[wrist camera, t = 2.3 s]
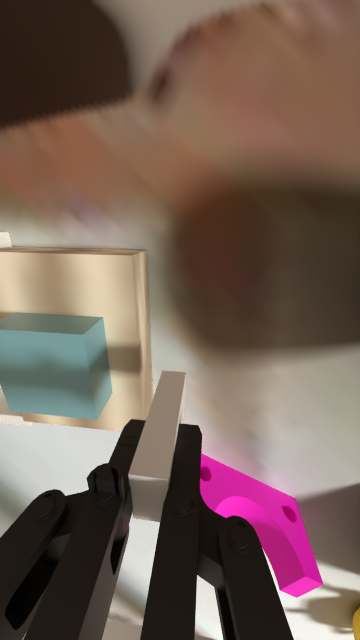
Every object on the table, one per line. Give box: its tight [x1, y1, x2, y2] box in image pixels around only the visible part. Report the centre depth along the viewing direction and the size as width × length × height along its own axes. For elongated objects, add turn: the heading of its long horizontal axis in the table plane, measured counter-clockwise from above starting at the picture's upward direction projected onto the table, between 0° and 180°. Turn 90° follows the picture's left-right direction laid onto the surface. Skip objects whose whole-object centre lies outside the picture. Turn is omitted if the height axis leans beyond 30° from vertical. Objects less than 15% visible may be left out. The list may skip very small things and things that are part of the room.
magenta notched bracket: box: [200, 454, 323, 597], centre depth 25 cm, size 15×6×8 cm, turn 62°
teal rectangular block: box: [0, 312, 113, 420], centre depth 17 cm, size 7×7×3 cm
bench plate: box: [0, 247, 153, 431], centre depth 20 cm, size 12×16×4 cm
